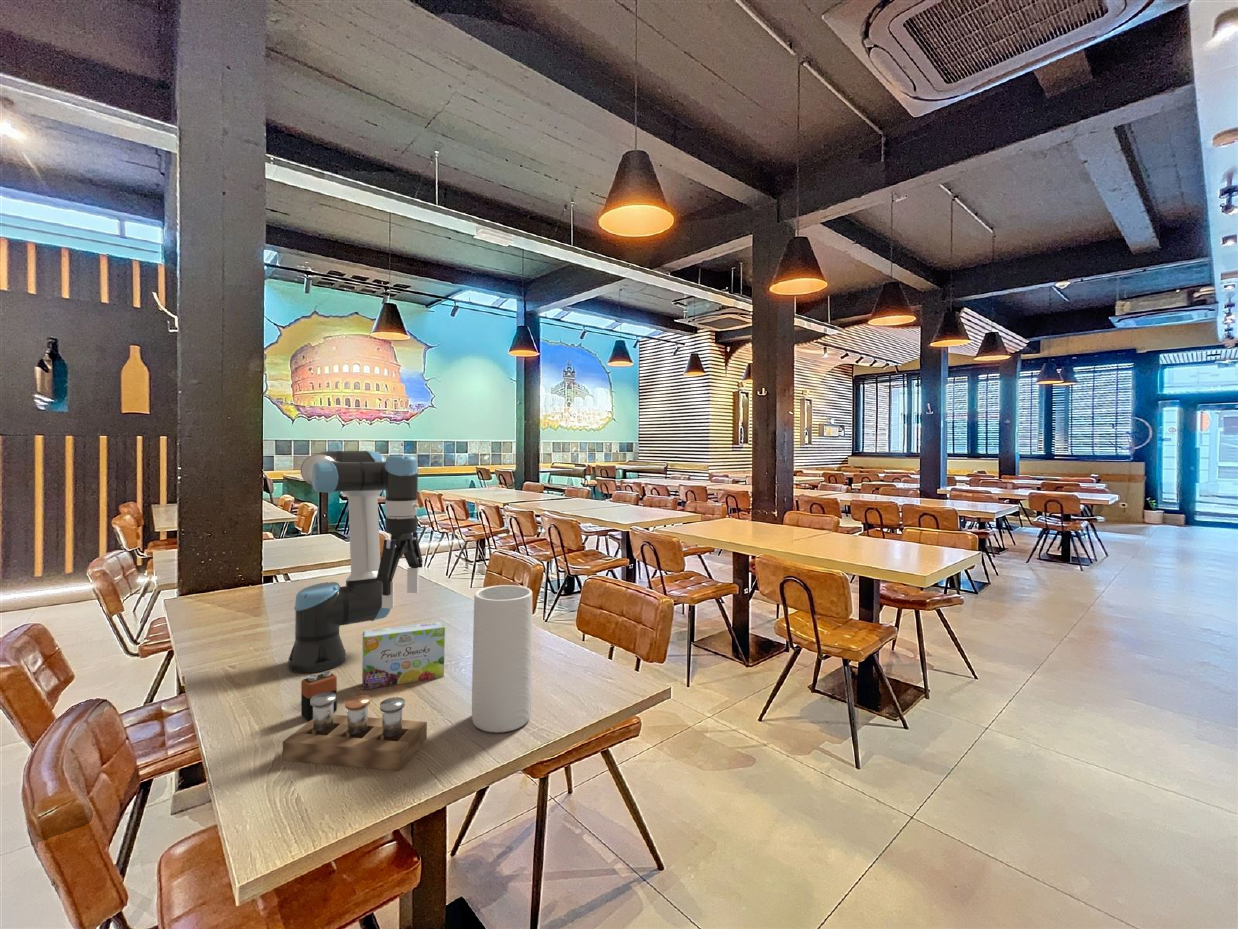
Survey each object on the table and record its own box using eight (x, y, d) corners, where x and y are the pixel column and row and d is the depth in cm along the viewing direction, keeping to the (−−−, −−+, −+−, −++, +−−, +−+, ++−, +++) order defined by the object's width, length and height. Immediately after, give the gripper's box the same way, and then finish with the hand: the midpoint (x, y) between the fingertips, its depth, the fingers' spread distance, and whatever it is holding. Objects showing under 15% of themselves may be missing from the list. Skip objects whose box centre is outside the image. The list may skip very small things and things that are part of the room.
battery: (300, 716, 133) (300, 676, 132) (329, 706, 138) (329, 667, 137) (308, 722, 130) (308, 681, 129) (337, 711, 135) (337, 672, 135)
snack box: (363, 691, 146) (363, 636, 146) (362, 683, 151) (362, 630, 151) (444, 677, 156) (445, 626, 155) (441, 670, 161) (441, 620, 160)
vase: (476, 740, 124) (478, 603, 123) (467, 711, 137) (469, 587, 136) (537, 728, 130) (540, 597, 128) (523, 701, 143) (525, 582, 141)
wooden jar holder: (282, 760, 114) (282, 741, 114) (319, 730, 126) (319, 713, 126) (400, 770, 112) (400, 751, 112) (426, 739, 124) (426, 722, 124)
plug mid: (339, 734, 117) (339, 704, 116) (353, 722, 122) (353, 694, 121) (361, 736, 116) (361, 706, 116) (374, 724, 121) (374, 695, 121)
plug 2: (375, 737, 116) (375, 707, 116) (387, 725, 121) (387, 696, 121) (397, 739, 115) (397, 709, 115) (408, 727, 120) (409, 698, 120)
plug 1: (305, 731, 118) (305, 702, 117) (320, 719, 122) (320, 691, 122) (326, 733, 117) (326, 703, 117) (340, 721, 122) (341, 693, 122)
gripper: (392, 524, 124) (392, 615, 125) (435, 511, 149) (434, 587, 150) (360, 523, 125) (360, 614, 126) (409, 510, 150) (408, 586, 151)
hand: (401, 600), depth 138 cm, fingers open, 13 cm apart
